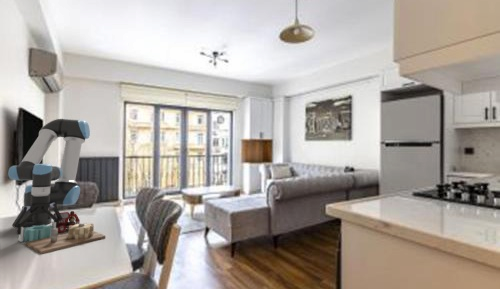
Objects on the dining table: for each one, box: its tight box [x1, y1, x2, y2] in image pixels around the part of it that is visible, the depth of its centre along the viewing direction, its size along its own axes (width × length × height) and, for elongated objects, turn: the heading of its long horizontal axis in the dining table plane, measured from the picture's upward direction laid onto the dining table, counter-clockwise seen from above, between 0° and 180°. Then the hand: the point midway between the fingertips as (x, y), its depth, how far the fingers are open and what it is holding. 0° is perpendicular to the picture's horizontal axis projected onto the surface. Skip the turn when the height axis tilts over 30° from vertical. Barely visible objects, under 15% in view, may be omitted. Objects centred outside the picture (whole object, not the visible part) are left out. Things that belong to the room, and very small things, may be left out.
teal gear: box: [22, 224, 52, 242], centre depth 135 cm, size 11×11×5 cm
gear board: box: [25, 222, 106, 255], centre depth 133 cm, size 17×28×7 cm, turn 147°
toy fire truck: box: [52, 210, 81, 234], centre depth 148 cm, size 7×12×10 cm, turn 135°
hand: (37, 237), depth 134 cm, fingers open, 13 cm apart
